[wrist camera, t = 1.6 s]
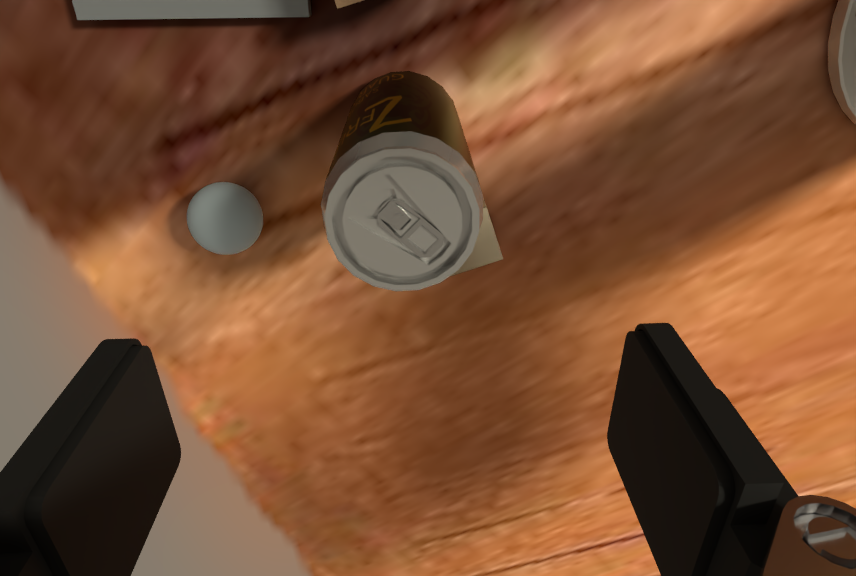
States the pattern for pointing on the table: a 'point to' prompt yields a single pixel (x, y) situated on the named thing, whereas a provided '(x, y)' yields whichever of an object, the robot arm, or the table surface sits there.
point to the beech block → (483, 246)
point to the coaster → (189, 9)
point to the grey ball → (224, 218)
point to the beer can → (402, 186)
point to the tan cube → (345, 2)
